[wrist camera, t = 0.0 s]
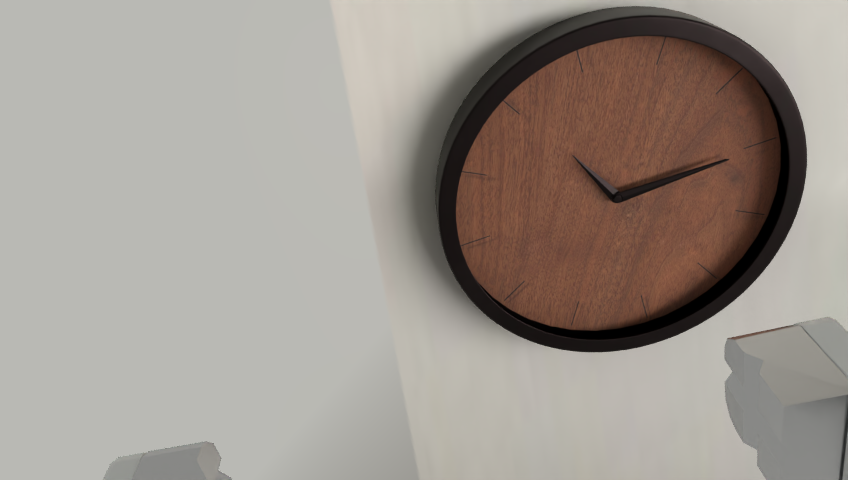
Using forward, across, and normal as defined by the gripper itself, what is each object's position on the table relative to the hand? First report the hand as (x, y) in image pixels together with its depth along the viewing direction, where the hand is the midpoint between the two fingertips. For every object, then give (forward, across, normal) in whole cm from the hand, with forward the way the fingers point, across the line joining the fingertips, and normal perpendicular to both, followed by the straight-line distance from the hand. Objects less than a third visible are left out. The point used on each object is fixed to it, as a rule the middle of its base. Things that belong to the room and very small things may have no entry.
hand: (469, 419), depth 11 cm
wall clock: (+49, -14, +21) cm, 55 cm away
